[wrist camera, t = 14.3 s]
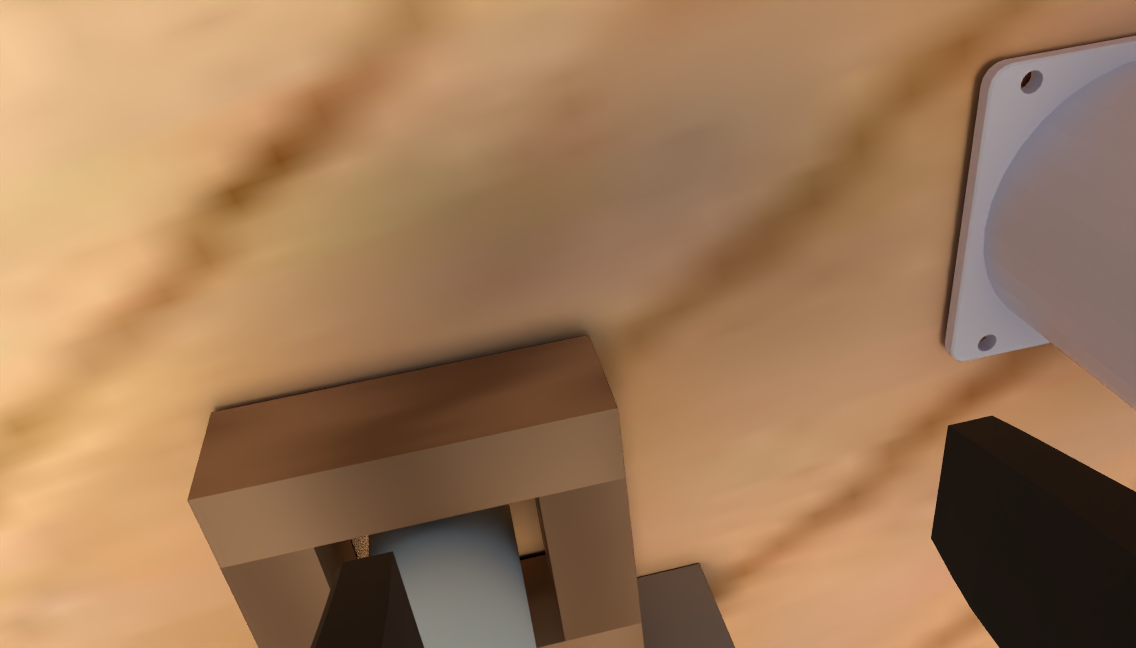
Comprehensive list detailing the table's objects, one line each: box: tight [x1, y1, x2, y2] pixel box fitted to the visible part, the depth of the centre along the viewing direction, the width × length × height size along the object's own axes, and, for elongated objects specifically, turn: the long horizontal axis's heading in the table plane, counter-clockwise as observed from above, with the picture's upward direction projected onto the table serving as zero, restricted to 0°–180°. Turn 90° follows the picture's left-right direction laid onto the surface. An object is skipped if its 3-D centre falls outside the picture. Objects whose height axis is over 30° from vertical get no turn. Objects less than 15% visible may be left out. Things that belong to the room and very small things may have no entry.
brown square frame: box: [188, 335, 644, 648], centre depth 22 cm, size 9×9×3 cm
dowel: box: [369, 504, 536, 648], centre depth 20 cm, size 4×4×7 cm
